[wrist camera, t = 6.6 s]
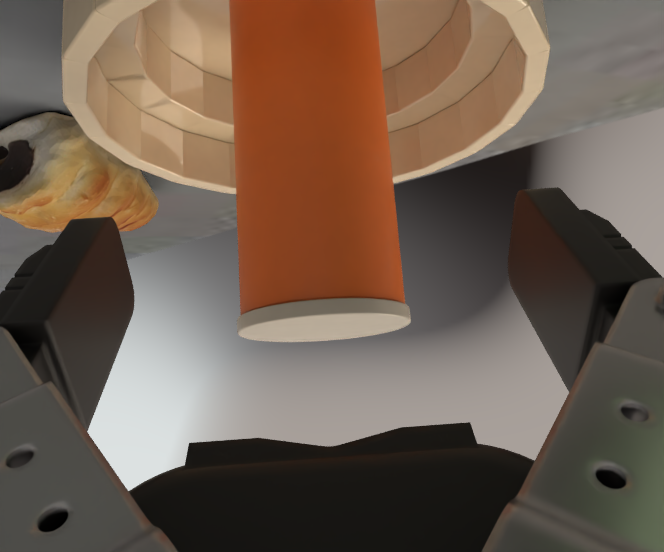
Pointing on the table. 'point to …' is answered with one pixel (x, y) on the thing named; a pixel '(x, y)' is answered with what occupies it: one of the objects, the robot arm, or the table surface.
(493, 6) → the oatmeal bowl
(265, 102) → the cracker tube
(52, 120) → the pastry
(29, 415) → the robot arm
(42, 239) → the table surface
